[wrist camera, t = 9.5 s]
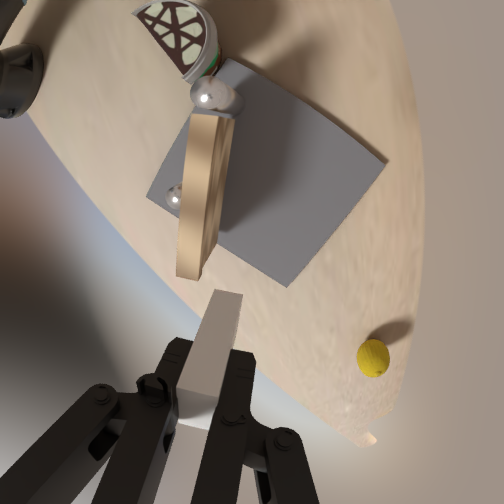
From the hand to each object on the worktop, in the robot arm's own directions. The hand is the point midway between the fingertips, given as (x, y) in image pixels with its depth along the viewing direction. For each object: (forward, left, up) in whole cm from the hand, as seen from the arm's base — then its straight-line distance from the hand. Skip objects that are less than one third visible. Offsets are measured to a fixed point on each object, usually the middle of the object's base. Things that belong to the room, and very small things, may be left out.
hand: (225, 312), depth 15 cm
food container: (-18, +14, -25) cm, 33 cm away
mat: (-2, +3, -25) cm, 25 cm away
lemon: (+29, -9, -25) cm, 39 cm away
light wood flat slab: (-6, -1, -22) cm, 23 cm away
